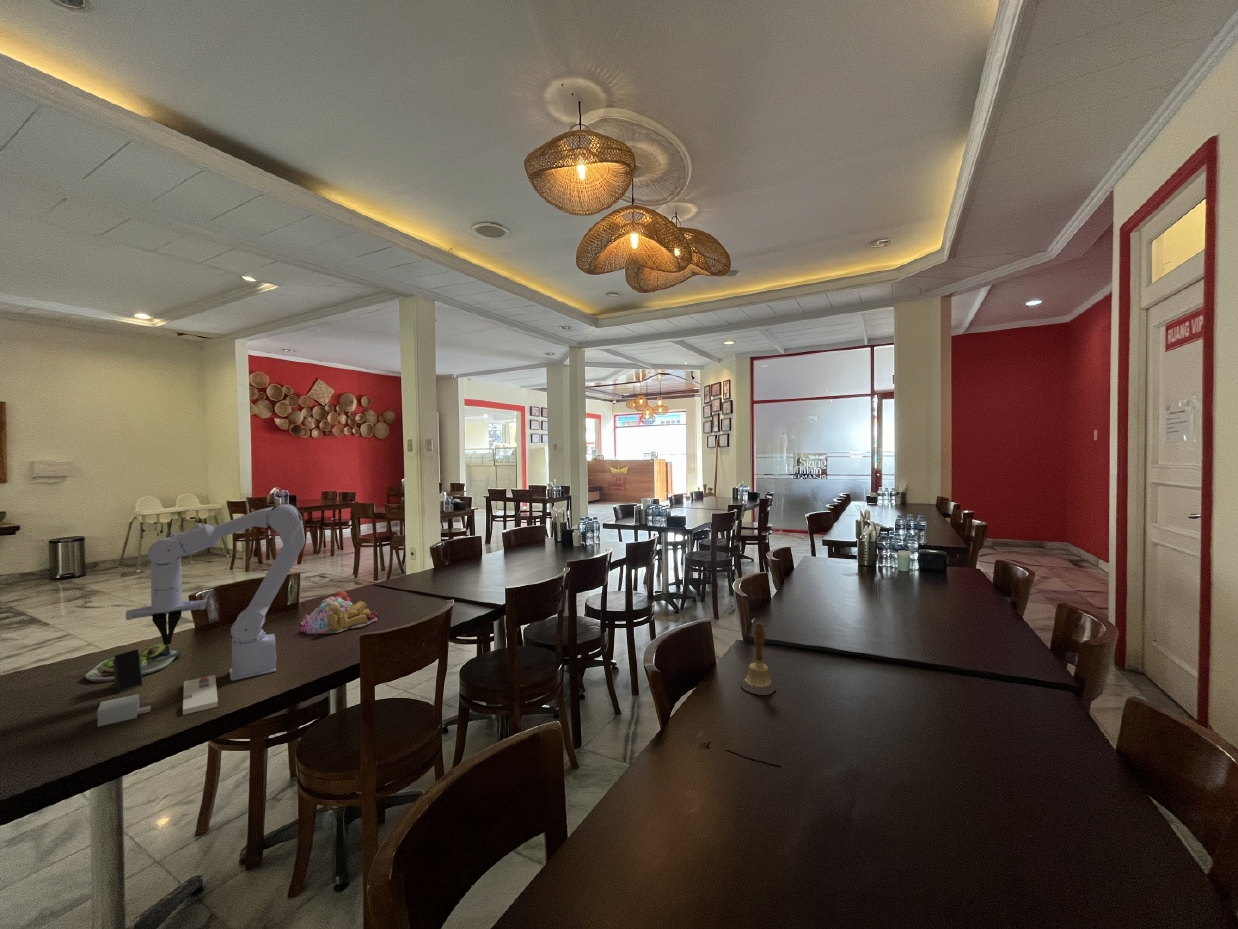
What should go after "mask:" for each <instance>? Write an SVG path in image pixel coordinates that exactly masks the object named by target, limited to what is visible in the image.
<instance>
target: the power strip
mask: <svg viewBox="0 0 1238 929" xmlns="http://www.w3.org/2000/svg"><path fill="white" fill-rule="evenodd" d="M217 690H218V688H217V681H216V674H214V675H209V676H205V675H204V676H201V677H199V678H195V679H190V680H185V681H183V700H182V716H184V715H189V714H192V713H196V712H197V713H198V712H202V711H205V710H209V709H213V708H217V707H218V706H219V698H218V691H217Z"/></svg>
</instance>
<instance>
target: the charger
mask: <svg viewBox="0 0 1238 929" xmlns="http://www.w3.org/2000/svg"><path fill="white" fill-rule="evenodd" d="M151 708H152V706H151V705H149V706H143V707H140V694H134V695H129V696H128V695H127V696H123V697H119V698H115V699H110V700H104V701H101V702H100V704H99V706H98V709H97V727H101V726H102V727H103V726H106V725H111V724H115V723H120V722H124V721H129V720H134V719H137V718H138V715H141V714H146V713H151Z"/></svg>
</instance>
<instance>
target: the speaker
mask: <svg viewBox="0 0 1238 929" xmlns="http://www.w3.org/2000/svg"><path fill="white" fill-rule="evenodd" d="M140 654H141V652H139V649H137V648H136V649H134V650H130V651H126V652H123V653H119V654H116V655H114V656H113V657H114V658H115V659H113V668H114V672H113V676H114V678H115V681H114V685H115V689H117V693H118V694H120V693H123V692H126V691H129V690H132V689H135V688H138V687H140V686H142V685H143V684H142V682H143V675H142V664H141V662H140Z"/></svg>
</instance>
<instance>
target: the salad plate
mask: <svg viewBox="0 0 1238 929" xmlns="http://www.w3.org/2000/svg"><path fill="white" fill-rule="evenodd" d="M184 653H186V650H180V651H177V650H174V649H173V650H171V649H170V646H169V644H167V645H164V643H163V642H160V643H159V642H156V643H153V644H151V645H150V646H148V647H146V648H145V649H144V650H143V651H141V652H140V662H141V664H142V676H145V675H149V674H152V673H155V672H159V671H160V670H163V669H165V668H166V667H167V666H168V665H169V664H170V663H172V662H173V661H175V659H176V658H178V657H180V656H181V655H182V654H184ZM113 659H115V658H114V656H113V657H111V658H108V659H105V660H104V661H101V662H100V663H98V664H97V665H96V666H95V667H93V668H92V669H91V670H89V671H88V672H86V674H85V675H84V678H85V679H86V680H89V681H91V682H95V683H108V681H109V682H115V678H114V675H113V676H106V677H102V674H103V673H104V672H106V673H114V668H113ZM103 671H104V672H103ZM101 672H103V673H101ZM99 675H101V677H100V676H99Z"/></svg>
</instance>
